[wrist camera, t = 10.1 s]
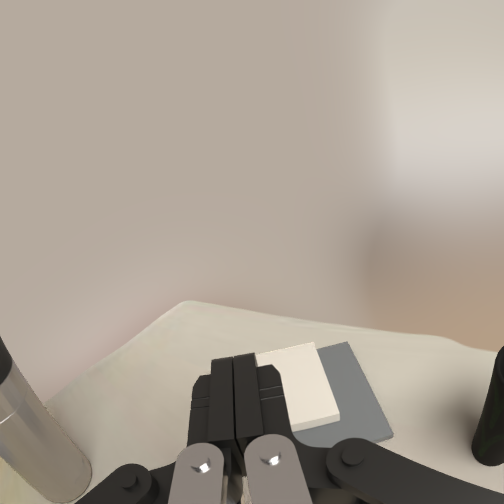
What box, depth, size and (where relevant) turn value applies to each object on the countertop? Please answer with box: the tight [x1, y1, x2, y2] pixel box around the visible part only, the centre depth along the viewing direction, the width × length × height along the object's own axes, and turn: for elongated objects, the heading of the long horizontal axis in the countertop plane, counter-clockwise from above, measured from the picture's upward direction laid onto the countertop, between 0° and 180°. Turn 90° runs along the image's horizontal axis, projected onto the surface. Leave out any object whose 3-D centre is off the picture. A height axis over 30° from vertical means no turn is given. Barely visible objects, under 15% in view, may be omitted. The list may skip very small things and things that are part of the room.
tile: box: [255, 342, 340, 432], centre depth 37 cm, size 10×2×14 cm
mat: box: [292, 342, 393, 448], centre depth 36 cm, size 20×18×1 cm
